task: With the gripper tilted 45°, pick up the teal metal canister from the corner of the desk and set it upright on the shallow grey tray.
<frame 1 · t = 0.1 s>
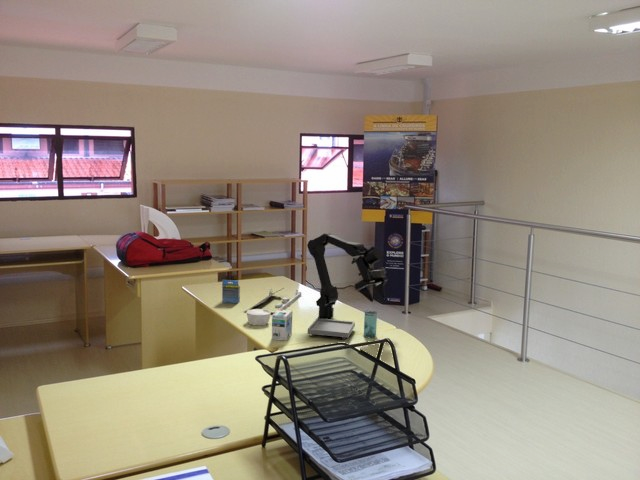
hand: (378, 299, 272), 15 cm above the table, tool tilted 35°, fingers open, 9 cm apart
teal canister: (369, 336, 267), on the table
ramekin: (258, 323, 282), on the table
light bulb box: (281, 337, 262), on the table
shallow grey tray: (331, 333, 268), on the table
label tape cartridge: (231, 302, 318), on the table
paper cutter: (273, 304, 318), on the table
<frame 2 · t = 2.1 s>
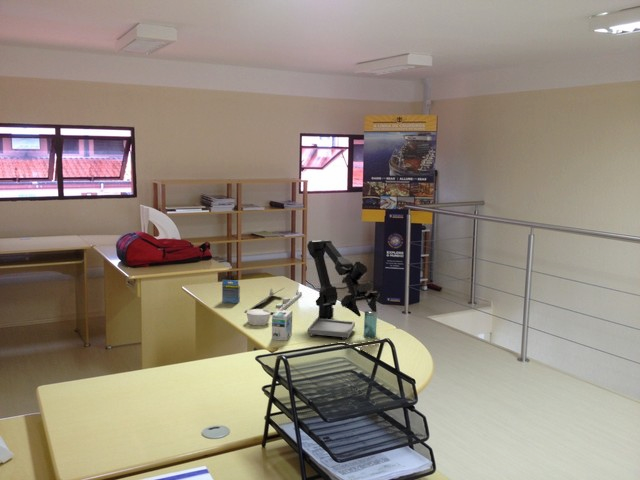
hand: (368, 314, 267), 9 cm above the table, tool tilted 45°, fingers open, 9 cm apart
nothing on the table moved.
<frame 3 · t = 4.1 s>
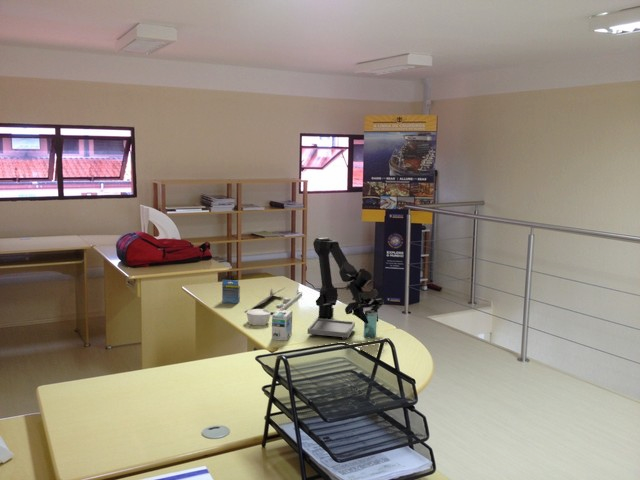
hand: (372, 322, 265), 7 cm above the table, tool tilted 45°, fingers closed on teal canister, 5 cm apart
teal canister: (369, 336, 267), on the table, touching gripper
everything else where it was.
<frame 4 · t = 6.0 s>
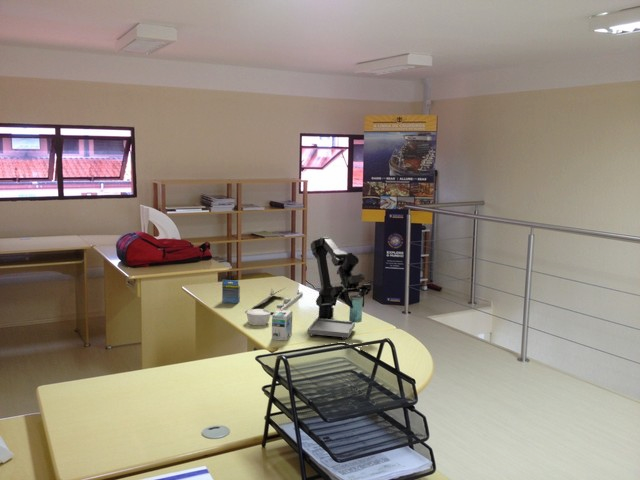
hand: (357, 307, 263), 13 cm above the table, tool tilted 45°, fingers closed on teal canister, 5 cm apart
teal canister: (355, 320, 265), point 7 cm above the table, touching gripper
everything else where it was.
when the fingers open (11 cm above the table, at t = 8.2 s): teal canister drops 1 cm, resting on shallow grey tray.
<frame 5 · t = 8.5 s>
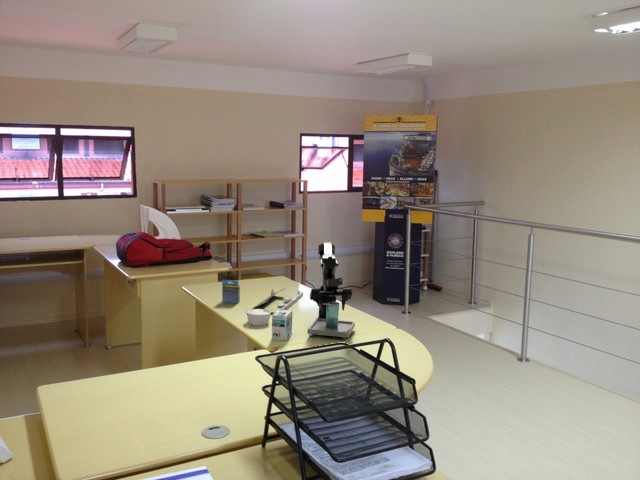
hand: (333, 310, 265), 11 cm above the table, tool tilted 45°, fingers open, 9 cm apart
teal canister: (331, 327, 268), point 3 cm above the table, touching shallow grey tray
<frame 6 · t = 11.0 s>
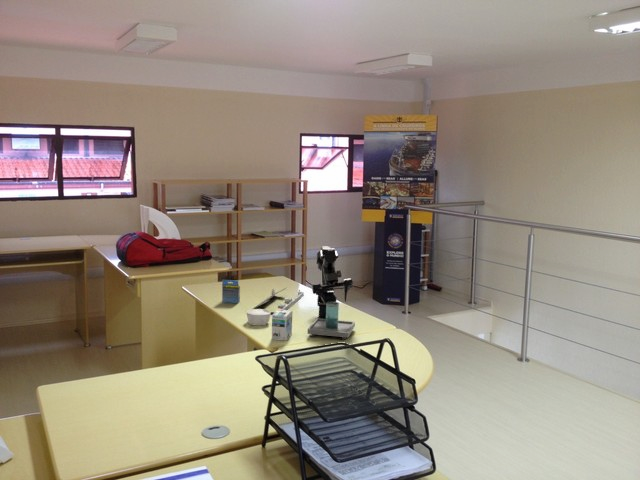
hand: (335, 302, 274), 12 cm above the table, tool tilted 40°, fingers open, 9 cm apart
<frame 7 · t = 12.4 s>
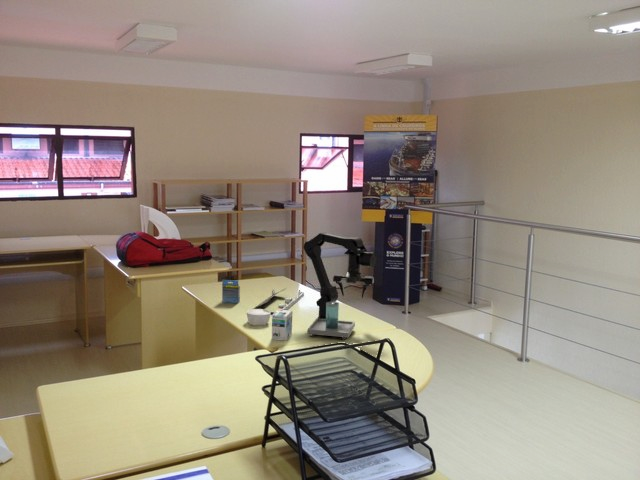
hand: (352, 296, 284), 13 cm above the table, tool pointing down, fingers open, 9 cm apart
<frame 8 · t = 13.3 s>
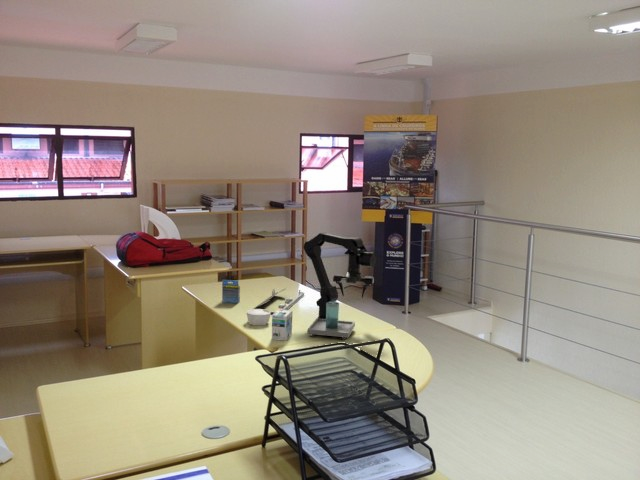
hand: (352, 296, 284), 13 cm above the table, tool pointing down, fingers open, 9 cm apart
at the end: teal canister inside the target area on the shallow grey tray (0.0 cm from its centre), point 3.0 cm above the shallow grey tray's base; teal canister tilted 0°; the gripper is holding nothing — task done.
